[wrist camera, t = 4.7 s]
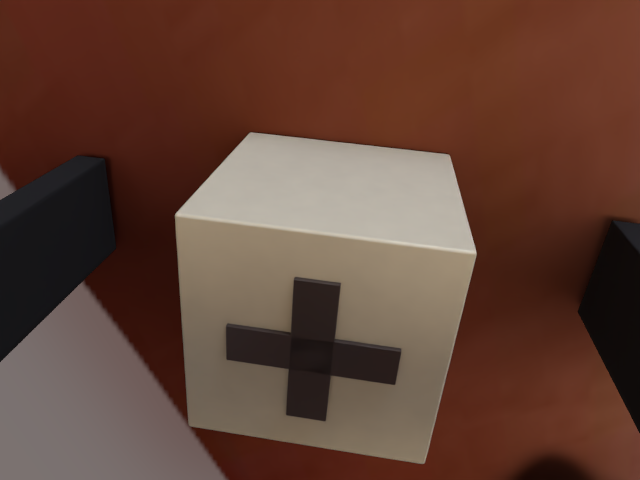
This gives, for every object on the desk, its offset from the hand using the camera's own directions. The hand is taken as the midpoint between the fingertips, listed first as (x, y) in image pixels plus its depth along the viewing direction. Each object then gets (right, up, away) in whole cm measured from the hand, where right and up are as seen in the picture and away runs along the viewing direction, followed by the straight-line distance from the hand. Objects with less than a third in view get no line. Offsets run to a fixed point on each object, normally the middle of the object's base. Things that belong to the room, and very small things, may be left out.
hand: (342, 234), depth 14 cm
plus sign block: (0, 0, 0) cm, 0 cm away
